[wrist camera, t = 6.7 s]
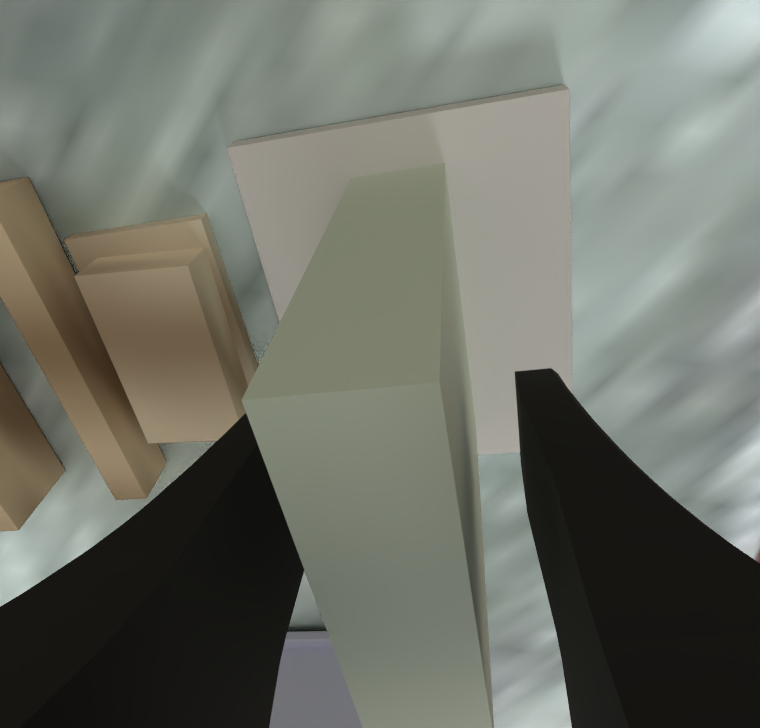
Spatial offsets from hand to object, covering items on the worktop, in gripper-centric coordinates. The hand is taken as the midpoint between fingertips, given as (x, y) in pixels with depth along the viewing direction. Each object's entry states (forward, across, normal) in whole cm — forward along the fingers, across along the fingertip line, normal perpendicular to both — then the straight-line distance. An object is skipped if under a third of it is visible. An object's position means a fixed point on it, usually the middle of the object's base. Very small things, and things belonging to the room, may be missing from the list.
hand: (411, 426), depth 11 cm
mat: (+5, 0, 0) cm, 5 cm away
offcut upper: (+4, +6, 0) cm, 8 cm away
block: (+4, 0, 0) cm, 4 cm away
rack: (+5, +11, 0) cm, 12 cm away
